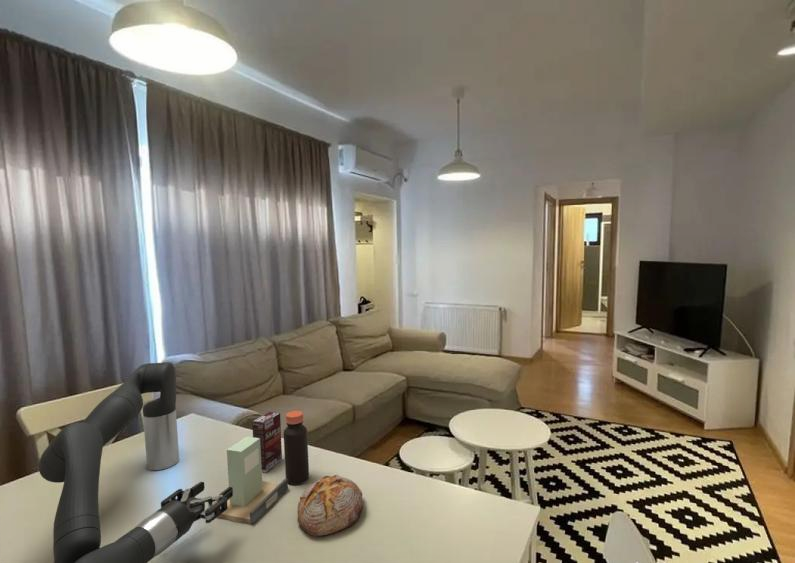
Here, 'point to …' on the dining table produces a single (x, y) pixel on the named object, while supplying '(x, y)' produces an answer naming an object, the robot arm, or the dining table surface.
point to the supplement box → (269, 439)
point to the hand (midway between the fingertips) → (217, 487)
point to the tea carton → (245, 470)
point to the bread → (329, 505)
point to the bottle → (296, 449)
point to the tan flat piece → (256, 503)
